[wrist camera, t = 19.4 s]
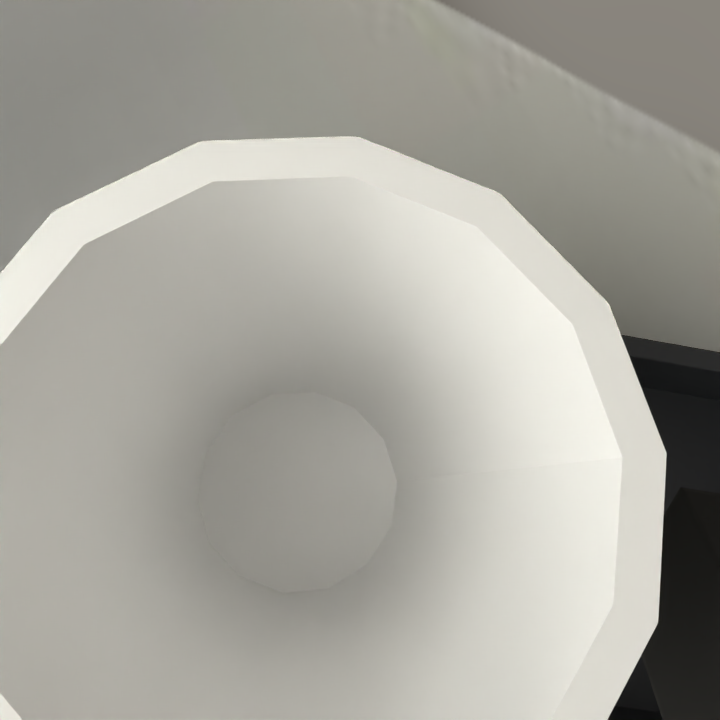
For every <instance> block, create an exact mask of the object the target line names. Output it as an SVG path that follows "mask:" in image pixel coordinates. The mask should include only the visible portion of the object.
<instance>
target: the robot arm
mask: <svg viewBox="0 0 720 720" xmlns="http://www.w3.org/2000/svg"><path fill="white" fill-rule="evenodd" d="M642 658H643V661H644V665H645V668H646V671H647V674H648V677H649V680H650V683H651V686H652V689H653V692H654V695H655V698H656V701H657V704H658V707H659V710H660V713H661V716H662V719H663V720H720V493H714V492H708V491H702V490H696V489H690V488H683V487H680V489H679V490H678V492H677V494H676V495H675V497H674V499H673V501H672V502H671V504H670V506H669V507H668V509H667V511H666V512H665V514H664V517H663V537H662V557H661V577H660V597H659V616H658V624H657V626H656V628H655V630H654V632H653V634H652V636H651V637H650V639H649V641H648V643H647V645H646V647H645V649H644V651H643V653H642Z"/></svg>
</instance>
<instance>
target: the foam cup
mask: <svg viewBox="0 0 720 720" xmlns="http://www.w3.org/2000/svg"><path fill="white" fill-rule="evenodd" d="M666 457H667V453H666V450H665V448H664V445H663V443H662V440H661V437H660V435H659V432H658V430H657V427H656V424H655V422H654V419H653V417H652V414H651V412H650V409H649V406H648V404H647V401H646V399H645V396H644V393H643V391H642V388H641V386H640V383H639V380H638V378H637V375H636V373H635V370H634V367H633V365H632V362H631V360H630V357H629V354H628V352H627V349H626V347H625V344H624V341H623V339H622V336H621V334H620V331H619V328H618V326H617V323H616V321H615V318H614V315H613V313H612V310H611V308H610V305H609V303H608V302H607V301H606V300H605V299H604V298H603V297H602V296H601V295H600V294H599V293H598V292H597V291H596V290H595V289H594V288H593V287H592V286H591V285H590V284H589V283H588V282H587V281H586V280H585V279H584V278H583V277H582V276H581V275H580V274H579V273H578V272H577V271H576V270H575V269H574V268H573V267H572V266H571V265H570V264H569V263H568V262H567V261H566V260H565V259H564V258H563V257H562V256H561V255H560V254H559V253H558V251H557V250H556V249H555V248H554V247H553V246H552V245H551V244H550V243H549V242H548V241H547V240H546V239H545V238H544V237H543V236H542V235H541V234H540V233H539V232H538V231H537V230H536V229H535V228H534V227H533V226H532V225H531V224H530V223H529V222H528V221H527V220H526V219H525V218H524V217H523V216H522V215H521V214H520V213H519V212H518V211H517V210H516V209H515V208H514V207H513V206H512V205H511V204H510V203H509V202H508V201H507V200H506V199H505V198H504V197H503V196H502V195H501V194H500V193H498V192H496V191H493V190H491V189H488V188H486V187H483V186H481V185H478V184H476V183H473V182H471V181H468V180H466V179H463V178H461V177H458V176H456V175H453V174H451V173H448V172H446V171H443V170H441V169H438V168H436V167H433V166H431V165H428V164H426V163H423V162H421V161H418V160H416V159H413V158H411V157H408V156H406V155H403V154H401V153H398V152H396V151H393V150H391V149H388V148H386V147H383V146H381V145H378V144H376V143H373V142H371V141H368V140H366V139H363V138H361V137H358V136H342V137H309V138H276V139H242V140H209V141H199V142H197V143H195V144H193V145H191V146H189V147H187V148H184V149H182V150H180V151H178V152H176V153H174V154H172V155H170V156H168V157H166V158H163V159H161V160H159V161H157V162H155V163H153V164H151V165H149V166H147V167H145V168H142V169H140V170H138V171H136V172H134V173H132V174H130V175H128V176H126V177H123V178H121V179H119V180H117V181H115V182H113V183H111V184H109V185H107V186H105V187H102V188H100V189H98V190H96V191H94V192H92V193H90V194H88V195H86V196H84V197H81V198H79V199H77V200H75V201H73V202H71V203H69V204H67V205H65V206H62V207H60V208H58V209H56V210H54V211H53V212H52V213H51V214H50V215H49V216H48V218H47V219H46V220H45V221H44V222H43V224H42V225H41V226H40V227H39V228H38V229H37V231H36V232H35V233H34V234H33V235H32V236H31V238H30V239H29V240H28V241H27V242H26V244H25V245H24V246H23V247H22V248H21V249H20V251H19V252H18V253H17V254H16V255H15V256H14V258H13V259H12V260H11V261H10V262H9V264H8V265H7V266H6V267H5V268H4V269H3V271H2V272H1V273H0V720H608V718H609V716H610V714H611V712H612V710H613V708H614V706H615V704H616V702H617V700H618V699H619V697H620V695H621V693H622V691H623V689H624V687H625V685H626V683H627V681H628V679H629V678H630V676H631V674H632V672H633V670H634V668H635V666H636V664H637V662H638V660H639V658H640V657H641V655H642V653H643V651H644V649H645V647H646V645H647V643H648V641H649V639H650V637H651V636H652V634H653V632H654V630H655V628H656V626H657V624H658V616H659V597H660V577H661V557H662V537H663V517H664V497H665V477H666Z"/></svg>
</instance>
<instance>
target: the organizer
mask: <svg viewBox="0 0 720 720" xmlns="http://www.w3.org/2000/svg"><path fill="white" fill-rule="evenodd" d="M621 336H622V339H623V341H624V344H625V347H626V349H627V352H628V354H629V357H630V360H631V362H632V365H633V367H634V370H635V373H636V375H637V378H638V380H639V383H640V386H641V388H642V391H643V393H644V396H645V399H646V401H647V404H648V406H649V409H650V412H651V414H652V417H653V419H654V422H655V424H656V427H657V430H658V432H659V435H660V437H661V440H662V443H663V445H664V448H665V450H666V453H667V457H666V477H665V497H664V514H665V512H666V511H667V509H668V507H669V506H670V504H671V502H672V501H673V499H674V497H675V495H676V494H677V492H678V490H679V489H680V487H683V488H690V489H696V490H702V491H708V492H714V493H720V352H715V351H709V350H704V349H698V348H692V347H687V346H681V345H676V344H670V343H664V342H659V341H653V340H648V339H642V338H636V337H631V336H625V335H621ZM608 720H663V719H662V716H661V713H660V710H659V707H658V704H657V701H656V698H655V695H654V692H653V689H652V686H651V683H650V680H649V677H648V674H647V671H646V668H645V665H644V661H643V658H642V655H641V657H640V658H639V660H638V662H637V664H636V666H635V668H634V670H633V672H632V674H631V676H630V678H629V679H628V681H627V683H626V685H625V687H624V689H623V691H622V693H621V695H620V697H619V699H618V700H617V702H616V704H615V706H614V708H613V710H612V712H611V714H610V716H609V718H608Z"/></svg>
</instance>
